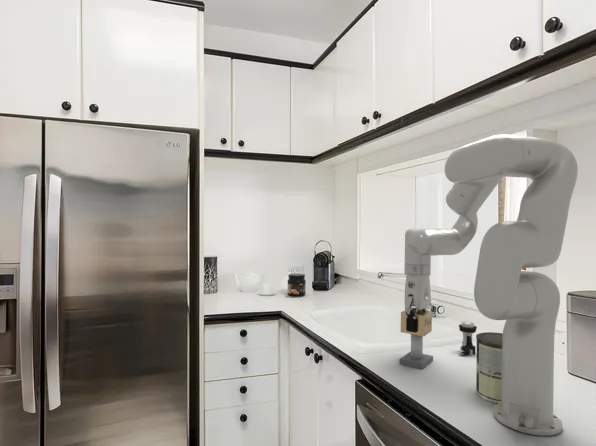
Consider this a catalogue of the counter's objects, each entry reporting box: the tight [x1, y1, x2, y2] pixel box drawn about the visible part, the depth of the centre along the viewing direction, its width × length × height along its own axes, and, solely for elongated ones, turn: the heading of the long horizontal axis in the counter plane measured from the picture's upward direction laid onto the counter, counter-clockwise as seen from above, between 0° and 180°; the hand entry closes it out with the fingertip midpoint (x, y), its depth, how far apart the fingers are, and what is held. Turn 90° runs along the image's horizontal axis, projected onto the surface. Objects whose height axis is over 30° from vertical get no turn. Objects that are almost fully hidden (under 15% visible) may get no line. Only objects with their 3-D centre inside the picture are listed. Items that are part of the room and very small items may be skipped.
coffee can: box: [475, 331, 503, 405], centre depth 95 cm, size 10×10×14 cm
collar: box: [400, 309, 433, 337], centre depth 118 cm, size 7×7×6 cm
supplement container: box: [286, 273, 307, 298], centre depth 225 cm, size 10×10×12 cm
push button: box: [458, 321, 478, 357], centre depth 125 cm, size 7×5×10 cm
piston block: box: [399, 334, 434, 370], centre depth 118 cm, size 9×7×8 cm
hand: (416, 328), depth 118 cm, fingers closed on collar, 7 cm apart
